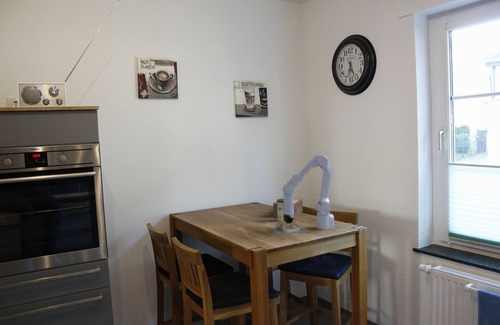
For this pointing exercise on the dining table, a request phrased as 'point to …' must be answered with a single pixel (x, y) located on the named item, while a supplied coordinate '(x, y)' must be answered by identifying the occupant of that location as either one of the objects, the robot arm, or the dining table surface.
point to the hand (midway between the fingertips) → (289, 227)
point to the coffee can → (280, 209)
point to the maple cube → (290, 226)
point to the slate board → (280, 231)
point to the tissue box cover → (297, 207)
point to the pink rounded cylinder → (296, 223)
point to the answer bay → (291, 229)
